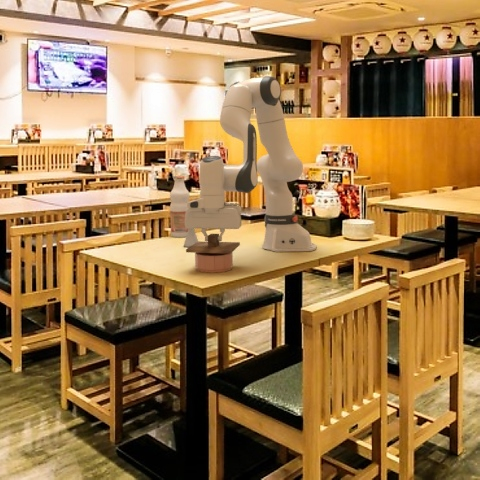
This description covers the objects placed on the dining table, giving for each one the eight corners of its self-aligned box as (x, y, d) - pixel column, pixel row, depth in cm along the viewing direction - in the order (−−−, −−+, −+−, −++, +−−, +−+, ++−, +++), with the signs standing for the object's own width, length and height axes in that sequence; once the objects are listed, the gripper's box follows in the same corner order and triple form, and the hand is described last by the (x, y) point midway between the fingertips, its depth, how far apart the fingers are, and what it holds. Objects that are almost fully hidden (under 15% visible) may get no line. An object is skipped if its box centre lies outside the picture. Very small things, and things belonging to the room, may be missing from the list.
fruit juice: (167, 235, 309) (165, 176, 304) (184, 233, 314) (182, 175, 309) (177, 238, 301) (175, 177, 296) (194, 236, 306) (193, 176, 301)
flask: (197, 247, 277) (197, 224, 275) (181, 247, 278) (180, 224, 277) (202, 244, 284) (201, 222, 282) (185, 244, 285) (185, 221, 284)
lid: (239, 245, 241) (239, 231, 240) (230, 253, 225) (230, 239, 224) (197, 244, 244) (197, 230, 243) (186, 252, 228) (185, 238, 227)
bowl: (235, 265, 241) (235, 249, 240) (228, 273, 228) (227, 256, 227) (201, 264, 243) (200, 248, 242) (192, 272, 231) (191, 255, 230)
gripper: (243, 201, 233) (243, 239, 235) (187, 201, 237) (188, 238, 239) (239, 203, 227) (240, 243, 229) (182, 203, 230) (183, 241, 233)
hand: (213, 240), depth 234 cm, fingers closed on lid, 3 cm apart
